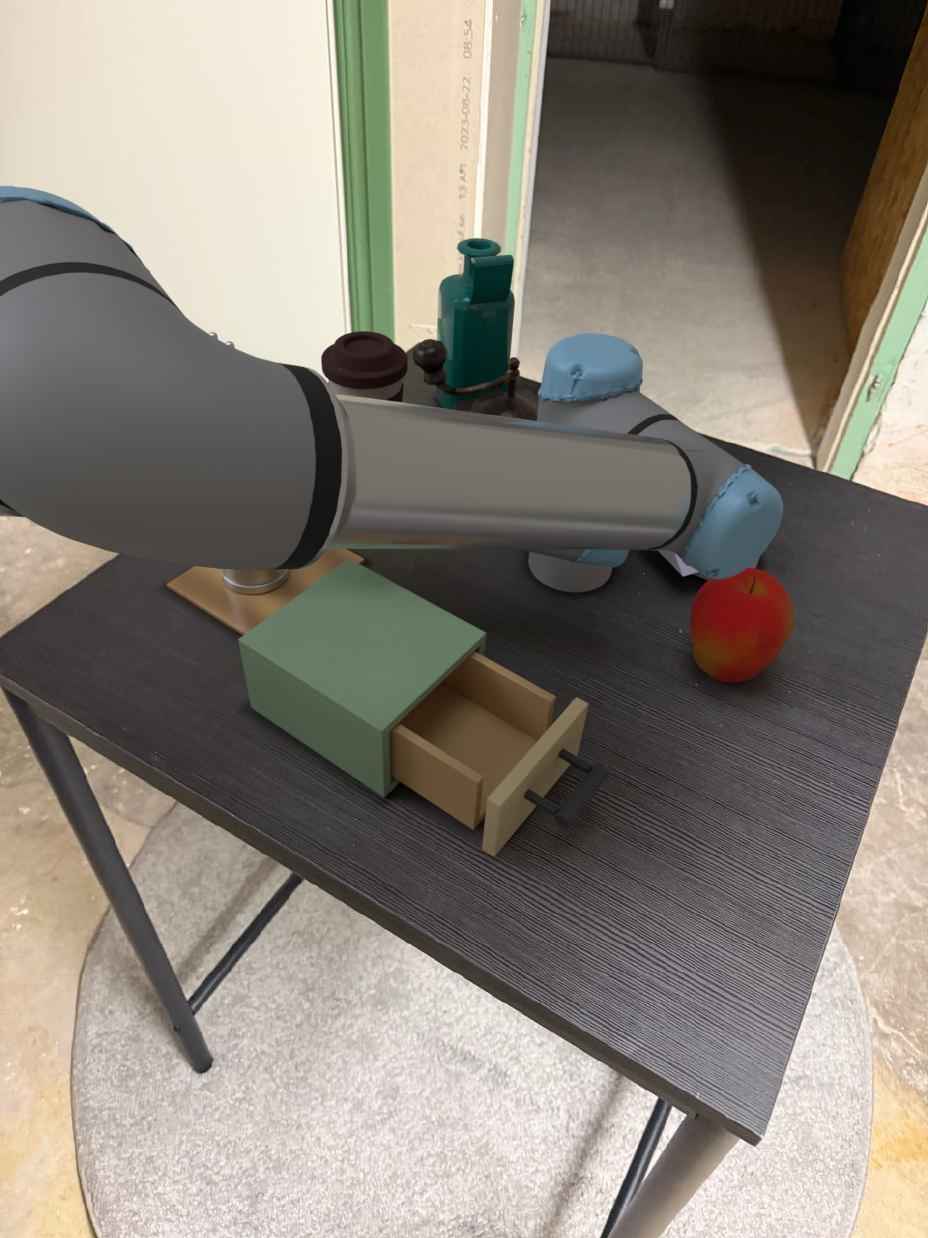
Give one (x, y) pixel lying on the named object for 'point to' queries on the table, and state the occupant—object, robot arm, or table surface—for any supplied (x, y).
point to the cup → (567, 573)
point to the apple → (740, 624)
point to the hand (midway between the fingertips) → (245, 449)
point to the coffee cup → (365, 366)
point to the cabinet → (352, 666)
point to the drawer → (492, 750)
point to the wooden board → (251, 608)
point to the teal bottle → (476, 319)
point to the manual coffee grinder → (477, 386)
